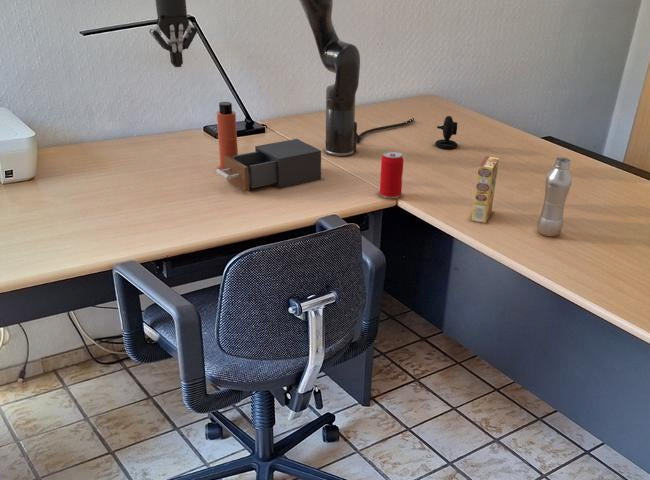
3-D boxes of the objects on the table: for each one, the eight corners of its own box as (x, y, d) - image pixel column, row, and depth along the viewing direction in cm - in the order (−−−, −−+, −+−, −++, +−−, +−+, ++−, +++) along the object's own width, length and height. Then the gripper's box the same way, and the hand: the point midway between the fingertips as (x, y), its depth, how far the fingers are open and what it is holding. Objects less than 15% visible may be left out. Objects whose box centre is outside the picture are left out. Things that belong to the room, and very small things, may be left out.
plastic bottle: (555, 241, 188) (571, 166, 176) (531, 234, 191) (545, 159, 179) (564, 233, 193) (580, 159, 181) (540, 226, 195) (555, 153, 184)
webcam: (457, 150, 244) (461, 120, 238) (435, 149, 244) (438, 118, 238) (456, 143, 251) (459, 113, 245) (434, 141, 250) (437, 112, 245)
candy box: (485, 223, 195) (494, 168, 186) (470, 220, 196) (478, 165, 187) (491, 212, 202) (500, 157, 193) (477, 209, 203) (484, 155, 194)
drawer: (232, 194, 198) (230, 170, 194) (212, 181, 205) (210, 158, 201) (286, 183, 208) (286, 159, 204) (265, 171, 215) (264, 148, 211)
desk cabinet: (279, 188, 207) (278, 158, 202) (256, 175, 214) (255, 146, 209) (321, 179, 215) (321, 150, 209) (297, 166, 222) (297, 138, 217)
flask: (233, 164, 220) (228, 99, 209) (242, 169, 217) (238, 104, 206) (217, 167, 218) (212, 102, 206) (226, 172, 214) (221, 106, 203)
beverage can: (401, 192, 210) (405, 151, 203) (400, 200, 205) (403, 158, 198) (380, 190, 210) (383, 149, 203) (378, 198, 205) (380, 156, 198)
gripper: (151, -3, 178) (160, 72, 188) (200, -5, 185) (206, 67, 195) (139, -8, 182) (148, 65, 193) (187, -9, 189) (193, 61, 200)
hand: (177, 66), depth 194 cm, fingers closed
